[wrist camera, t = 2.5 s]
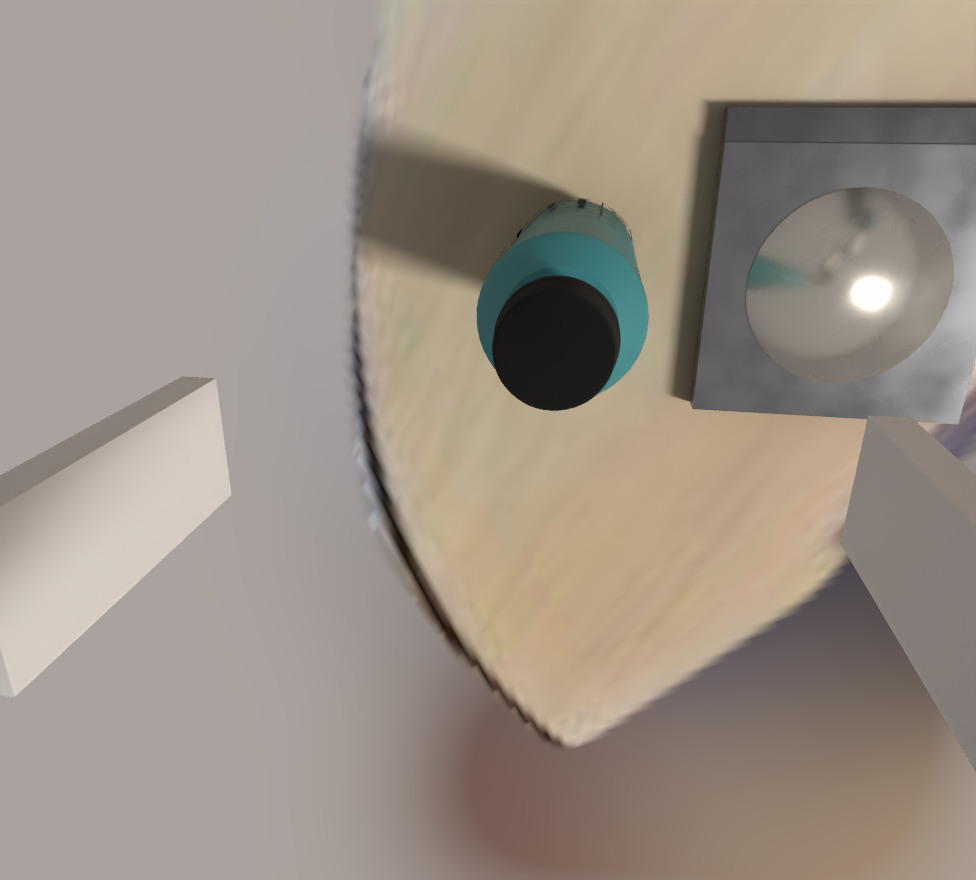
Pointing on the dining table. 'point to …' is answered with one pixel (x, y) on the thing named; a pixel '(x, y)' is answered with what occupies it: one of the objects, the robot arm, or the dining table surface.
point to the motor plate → (841, 264)
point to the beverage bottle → (564, 307)
